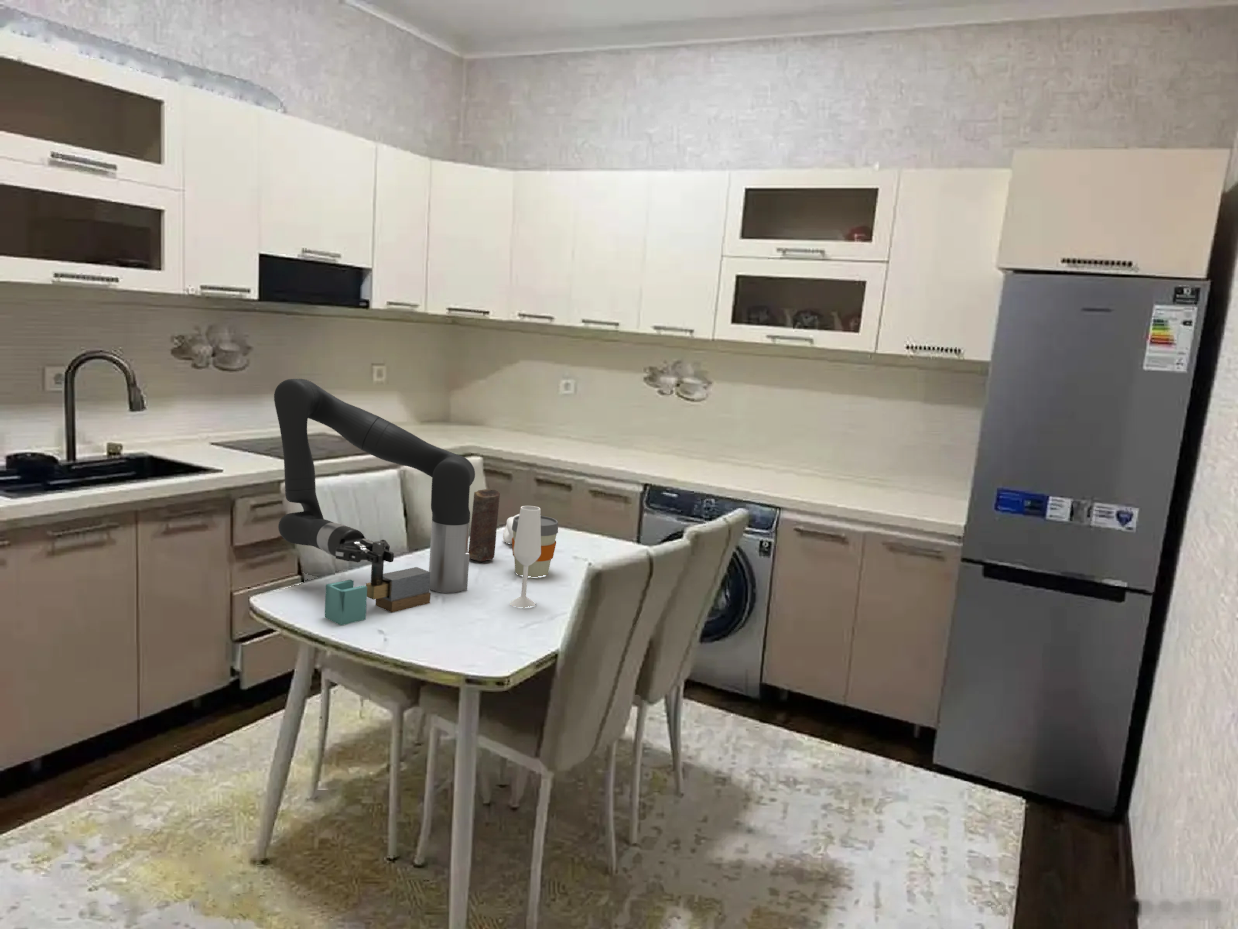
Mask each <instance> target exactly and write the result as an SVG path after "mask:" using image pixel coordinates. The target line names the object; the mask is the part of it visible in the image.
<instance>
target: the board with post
mask: <svg viewBox="0 0 1238 929" xmlns="http://www.w3.org/2000/svg"><path fill="white" fill-rule="evenodd" d="M384 548H385V543H384V542H381V541H380V540H377V541H373V547H372V552H375V553H378V554H380V555H381V556H382V560H381V564H379V565H377V564H374V563H372V562H371V571H370V572H371V573H370V582H365V586H367V598H369V599H371V600H374V601H375V600H376V599H378V598H383V597H387V596H389V595H390V582H388V581H386V580H383V574H384V567H385V566H384V564H385V562H384V561H385V560H384Z"/></svg>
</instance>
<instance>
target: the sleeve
mask: <svg viewBox="0 0 1238 929" xmlns="http://www.w3.org/2000/svg"><path fill="white" fill-rule="evenodd" d="M383 580H386V581H388V582H390V595H389V596H387V597H383V598H378V599H375V607H379V609H380V608H381V609H383V610H384V611H386V612H389V613H391V614H392V613H395V612H401V611H404V610H409V609H412V608H416V607H420V606H423V605H428V604H431V596H432V595H431V592H430V589H429V588H430V572H429V570H426V569H423V568H421V567H418V566H415V567H410V568H405V569H401V570H396V571H391V572H386V573H383Z"/></svg>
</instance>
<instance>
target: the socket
mask: <svg viewBox="0 0 1238 929" xmlns="http://www.w3.org/2000/svg"><path fill="white" fill-rule="evenodd" d="M354 582H355V581H354V580H353V579H348V580H342V581H337V582H332V583H326V584H325V596H324V597H325V598H324V599H325V600H324V601H325V602H324V618H325V619H327V620H329V621H330V622H333V623H335V624H338V625H339V626H344V625H348V624H353V623H356V622H361V621H364V620H366V619H367V600H368V599H367V598H368V597H367V586H366V585H364V584H363V585H359V586H354V585H355V584H354Z"/></svg>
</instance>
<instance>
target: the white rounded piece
mask: <svg viewBox="0 0 1238 929" xmlns="http://www.w3.org/2000/svg"><path fill="white" fill-rule="evenodd" d="M519 515H520V513H518V514H515V515H514V516H510V517H508V518H507V519H506V525H505V527H504V529H503V533H502V540H503V541H504V543H505V542H506V543H505V544H507V543H510V544H509V545H512V538H513V530H512V525H513V519H514V517H516V516H519Z"/></svg>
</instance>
